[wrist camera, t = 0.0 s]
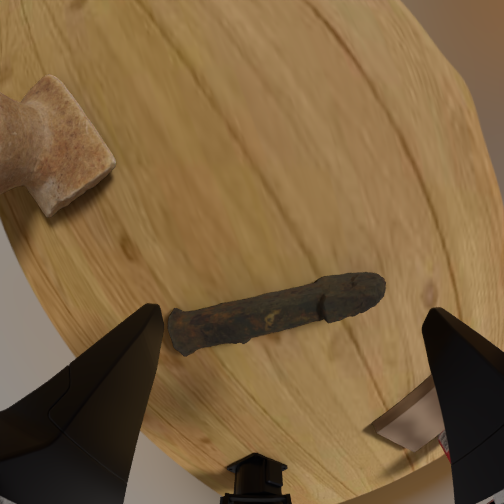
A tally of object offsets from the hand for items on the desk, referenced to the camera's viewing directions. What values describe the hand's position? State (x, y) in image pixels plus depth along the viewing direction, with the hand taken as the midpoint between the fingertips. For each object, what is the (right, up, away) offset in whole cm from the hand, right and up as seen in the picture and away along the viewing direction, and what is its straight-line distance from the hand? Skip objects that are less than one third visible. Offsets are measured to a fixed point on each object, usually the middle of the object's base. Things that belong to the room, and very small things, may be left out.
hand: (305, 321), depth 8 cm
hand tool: (0, -2, +17) cm, 17 cm away
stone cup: (-22, +12, +13) cm, 28 cm away
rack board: (+24, -19, +21) cm, 37 cm away
